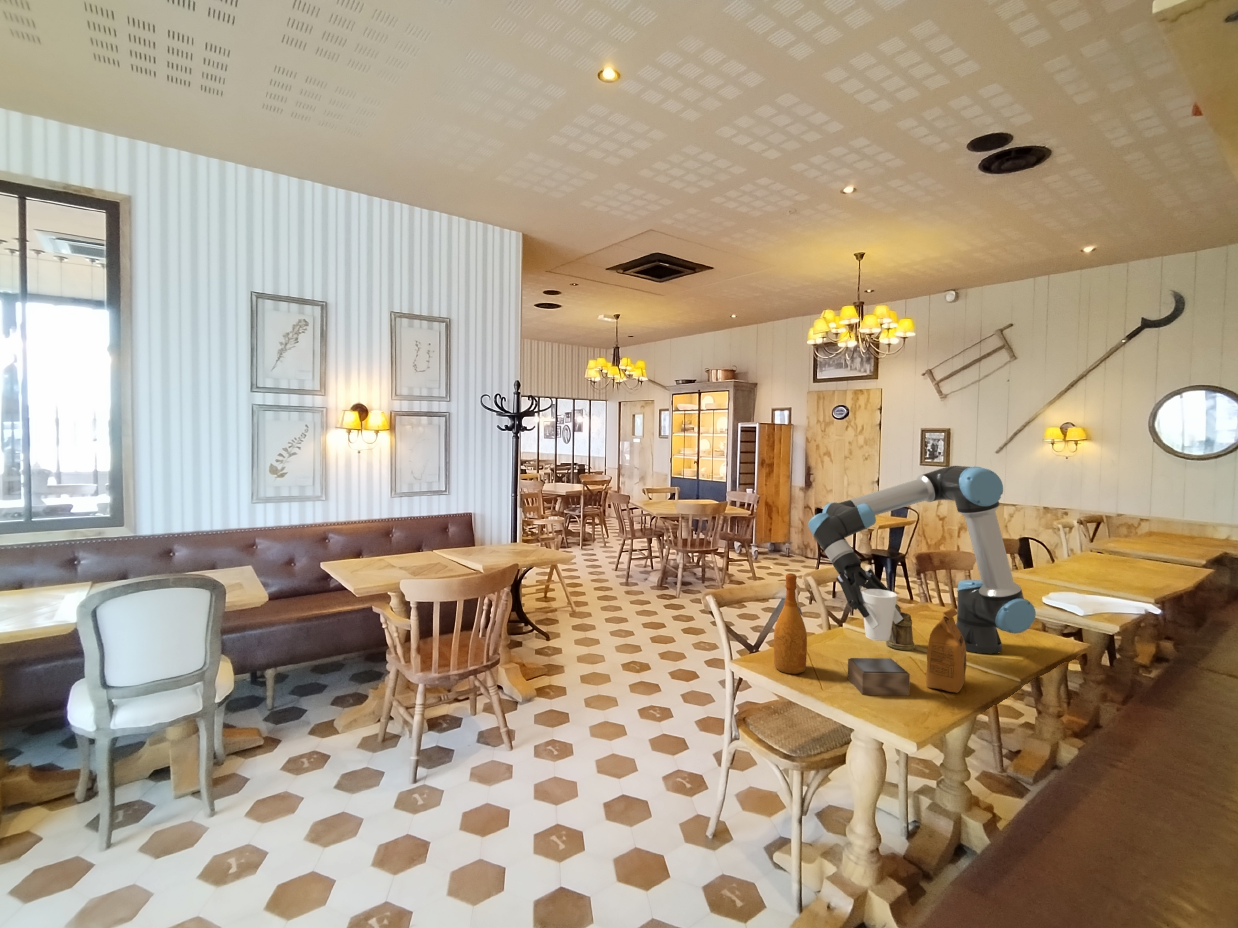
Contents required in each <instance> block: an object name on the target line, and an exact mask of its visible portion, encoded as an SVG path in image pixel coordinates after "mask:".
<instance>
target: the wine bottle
mask: <svg viewBox="0 0 1238 928" xmlns="http://www.w3.org/2000/svg"><path fill="white" fill-rule="evenodd" d="M784 587H785V589H786V592H785V593H786V594H785V600H784V605H783V608H782V609H781V612H780V613H779V616H778V618H777V620H776V622H775V626H774V632H773V664H774V668H775V669H776V670H777V671H779V672H781V673H785V674H789V675H791V674H792V675H797V674H801V673H804V672H805V671H806V668H807V648H808V647H807V646H808V636H807V635H808V634H807V629H806V625H805V622H804V619H803V617H804V614H803V611H802V608H801V606H800V605H799V604H798V602H797V597H796V596H797V595H796V590H797V587H798V586H797V574H795V573H790V572H788V573H787V574H785V586H784ZM802 616H803V617H802Z"/></svg>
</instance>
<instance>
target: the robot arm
mask: <svg viewBox="0 0 1238 928" xmlns="http://www.w3.org/2000/svg"><path fill="white" fill-rule="evenodd" d="M1003 494H1004V484H1003V481H1002V479H1001V477H1000V476H999V475H998V474H997V473H996V472H995V471H993V470H991V469H989V468H985V467H981V466H965V465H964V466H962V465H951V466H950V465H949V466H946V467H942V468H938V469H936V470H933V471H930V472H927V473H924V474H920V475H918V476H917V478H916V479H914V480H911V481H907V482H905V483H901V484H897V485H895V486H891V487H888V488H884V489H882V490H881V489H880V490H877V491H874V492H871V493H868V494H864V495H860V496H859V497H857V496H856V497H854V498H851V499H848V500H844V501H840V502H829V503H827V504H826V505H824V507H823V508H822V512H820V513H817V514H815V515H814V516H812V517H811V518H810V520H808V523H807V526H808V529H809V531H810V533H811V534H812V536H813V538H814V539H815V540H816V542H817V543H818V545H819V546H820V547H821V549H822V550H823V552H824V554H825V556H827V558H828V559H829V561H830V563H831V564H833V567H834V569H835V570H836V573H838V576H837V577H836V578H835V579H836V581H837V582H838V583H839V585H840V587H841V589H842V592H843V594H844V596H845V599H846V601H847V603H848V606H849V607H850V608H852V609H853V610H855V611H857V610H858V611H859V613H860V614H861V616H862V617H863V619H864V618H865V619H866V621H867V622H868V624H869V625H870V627H871V628H872V629H874V628H876V627H877V626H878V625H879V624H880V623H879V622H878V620H877V619H876V617H875V616H874V614H873V613H872V611H871V610H870V608H869V607H868V605H867V604H864V605H863V599H862V595H861V591H862V590H861V588H860V586H861V587H862V588H863V589H882V590H887V591H890V589H888V587H887V586H886V585H885V583H883V582H882V581H881V580H880V579H879V578H878V576H877V575H876V574H875V572H874V571H873V570H872V569H870V568H869V569H868V570H865V569H863V568H862V567H861V566H862V561H861V560H860V558H859V556H858V555H857V553H856V552H854V549H853V548H852V546H851V545H850V543H849V542H848V540H847V539H846V538H847V537H850V536H853V535H854V534H857V533H860V532H862V531H864V530H866V529H868V528H870V527H873V526H874V525H875V524H876V522H877V519H876V518H877V517H876V516H878V515H881V514H885V513H888V512H891V511H895V510H899V509H901V508H906V507H908V506H912V505H915V504H919V503H922V502H927V503H933V502H935V501H942V500H943V501H944V500H945V501H954V503H955V506H956V510H957V513H959V514H960V515H962V516H963V517H964V519H965V520H964V521H965V522H966V526H967V531H968V535H969V539H970V543H971V546H972V550H973V553H974V556H975V562H976V564H977V565H976V566H977V569H978V572H979V573H978V574H979V576H980V579H962V580H960V581H958V585H957V589H956V592H957V598H956V599H957V600H956V603H957V605H956V608H957V609H956V611H957V615H956V622H955V624H956V627H957V628H958V629H959V631H960V632H961V634H962V636H963V638H964V641H965V646H966V652H970V653H975V652H977V653H976V654H982V653H997V654H999V653H998V652H1000V653H1001V652H1003V651H1002V650H1003V644H1002V643H1003V642H1002V640H1001V637H1000V634H999V631H998V629H999V630H1000V631H1001V632H1006V633H1009V634H1021V633H1024V632H1025V631H1027V630H1029V629H1030V627H1031V626H1032V624H1034V622H1035V620H1036V608H1035V606H1034V605H1033V603H1032V602H1031V601H1029V600H1028V599H1027V598H1026V599H1025V597H1024V594H1023V590H1022V587H1021V586H1020V585H1019V584H1018V583H1016V582H1015V581H1014V577H1013V574H1012V569H1011V565H1010V563H1009V559H1008V555H1007V551H1006V547H1005V543H1004V539H1003V535H1002V533H1001V528H1000V524H999V519H998V516H997V513H996V511H997V510H998V508H999V507H1000V500H1001V498H1002V495H1003ZM902 619H903V618H902V616H901V615H900V613H899V612H898V610H897V609H896V607H895V611H894V617H893V621H894V622H895V624H897V623H898V622H900V621H901V620H902Z"/></svg>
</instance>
